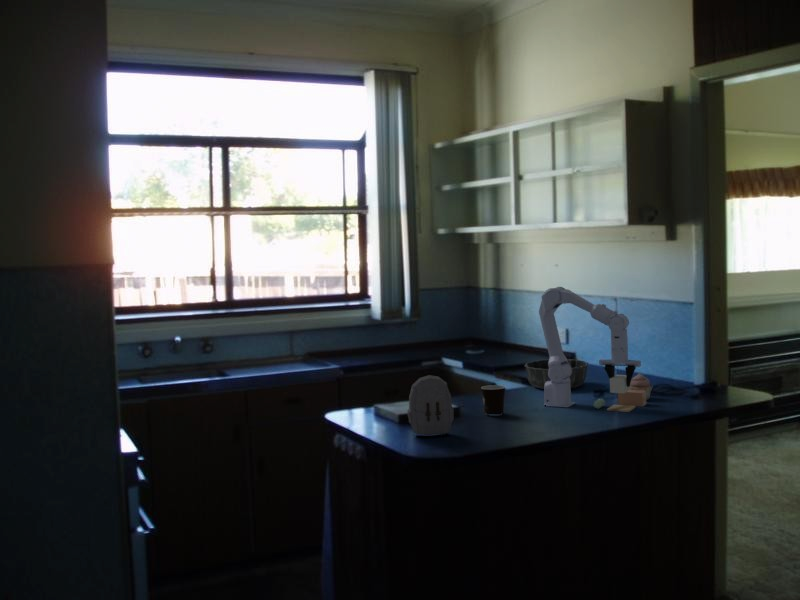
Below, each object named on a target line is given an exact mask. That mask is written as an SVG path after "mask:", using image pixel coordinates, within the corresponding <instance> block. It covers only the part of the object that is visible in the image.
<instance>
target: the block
mask: <svg viewBox="0 0 800 600" xmlns="http://www.w3.org/2000/svg"><path fill="white" fill-rule="evenodd" d="M626 381H627V377H626V374H614V377H612V378H610V379H609V392H610V393H612V394H615V393H616V394H618V393H626V392H627V391H629V390H630V389H631V383H630V386H629V387H627V384H626Z"/></svg>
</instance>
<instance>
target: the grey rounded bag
mask: <svg viewBox="0 0 800 600" xmlns="http://www.w3.org/2000/svg"><path fill="white" fill-rule="evenodd" d="M410 388H411V389H410V393H409V394H408V395H409V396H408V402H409V403H408V407H409V408H408V409H407V417H408V423H409V424H410V425H411V426H410V427H411V429H412V431H413V434H414V433H416V434H424V435H432V434H444V435H446V433H447V434H449V433H450V430H451V427H452V423H453V421H454V419H455V418H454V414H455V411H454V407H453V406H452V405H453V402H452V394H451V392H450V390H449V387H448V382H447V381H445V380H444V379H442V378H441V377H440V376H438V375H437V376H436V375H431V374H428V375H425V376H422V377H418V379H417V380H416V381H415V382H413V384H412V385H411V387H410Z"/></svg>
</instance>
